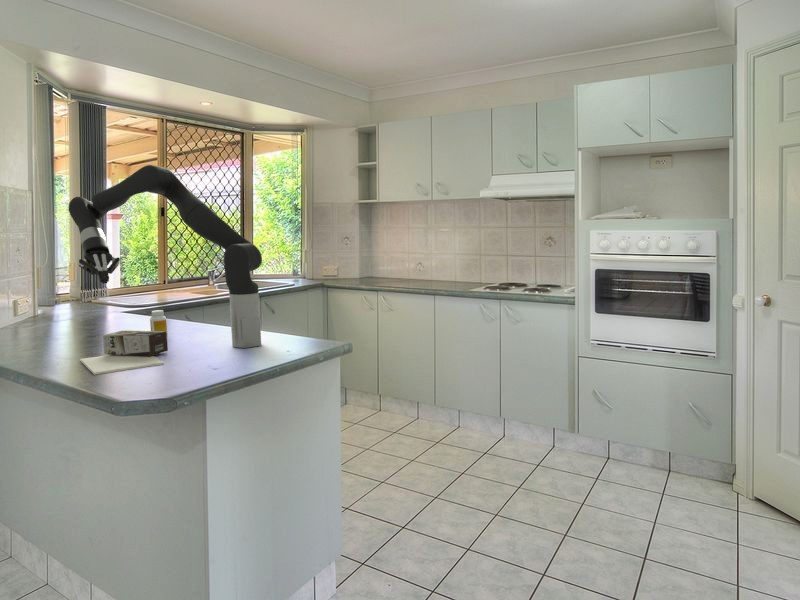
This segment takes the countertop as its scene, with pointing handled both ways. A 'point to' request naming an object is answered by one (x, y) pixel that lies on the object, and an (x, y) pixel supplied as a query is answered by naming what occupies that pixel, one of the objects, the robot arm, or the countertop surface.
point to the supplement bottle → (158, 321)
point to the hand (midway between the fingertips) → (105, 281)
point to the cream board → (118, 363)
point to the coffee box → (135, 343)
